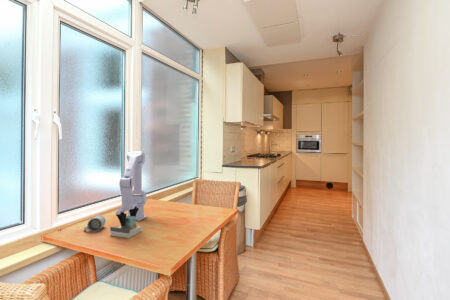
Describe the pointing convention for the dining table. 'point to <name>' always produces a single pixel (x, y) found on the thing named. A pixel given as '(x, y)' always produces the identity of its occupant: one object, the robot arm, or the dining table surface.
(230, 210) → the dining table surface
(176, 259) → the dining table surface
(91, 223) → the ceramic mug
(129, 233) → the dock
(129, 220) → the teal rectangular block
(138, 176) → the robot arm
